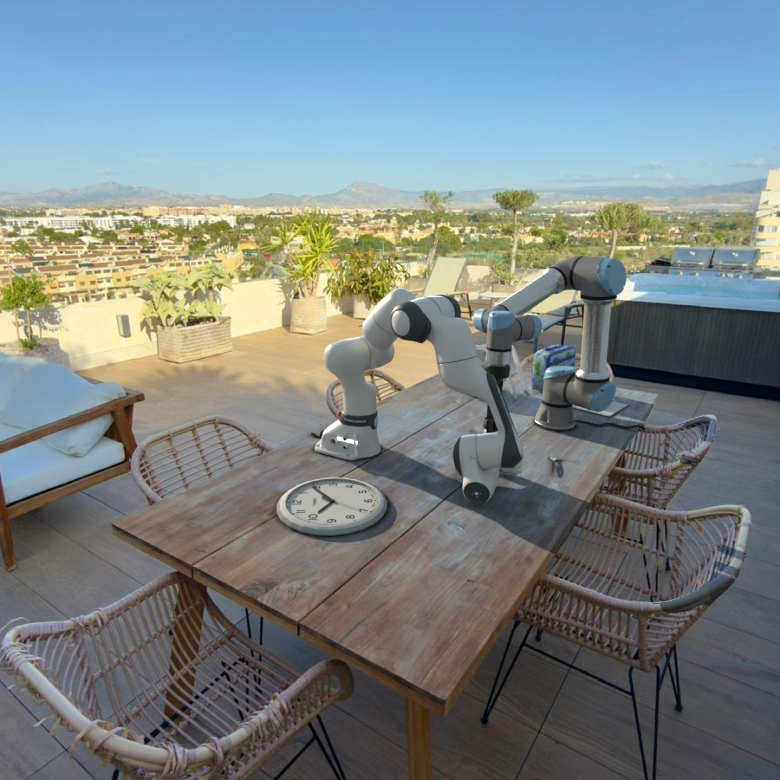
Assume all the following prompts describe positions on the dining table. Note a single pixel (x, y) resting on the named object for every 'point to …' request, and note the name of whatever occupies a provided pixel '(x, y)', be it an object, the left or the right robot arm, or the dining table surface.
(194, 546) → the dining table surface
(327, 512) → the wall clock
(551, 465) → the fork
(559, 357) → the lunch box
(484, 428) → the lid
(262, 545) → the dining table surface
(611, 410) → the invitation card
